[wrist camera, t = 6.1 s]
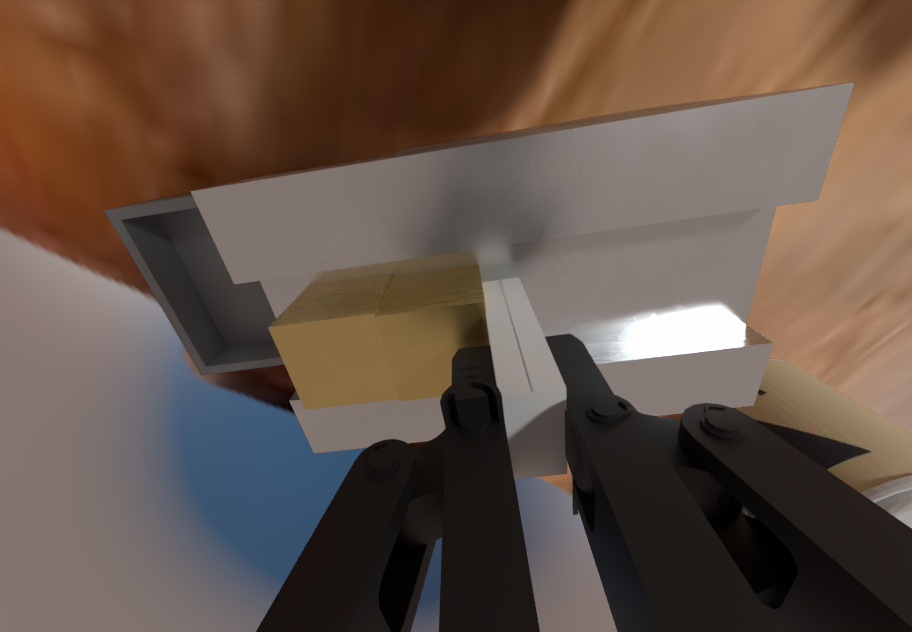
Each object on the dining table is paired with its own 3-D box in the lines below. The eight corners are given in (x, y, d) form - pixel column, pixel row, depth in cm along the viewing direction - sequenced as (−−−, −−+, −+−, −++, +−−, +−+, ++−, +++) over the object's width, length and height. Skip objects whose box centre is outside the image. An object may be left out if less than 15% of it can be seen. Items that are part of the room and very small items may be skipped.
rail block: (310, 164, 21) (190, 191, 11) (662, 106, 19) (854, 82, 10) (364, 338, 26) (314, 453, 17) (641, 302, 25) (753, 405, 15)
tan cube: (392, 276, 14) (374, 316, 11) (478, 264, 14) (485, 301, 11) (410, 348, 16) (398, 401, 13) (487, 339, 16) (495, 390, 13)
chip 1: (308, 285, 14) (267, 327, 11) (391, 274, 14) (373, 313, 11) (333, 356, 16) (304, 409, 13) (409, 346, 16) (398, 399, 13)
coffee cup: (716, 345, 26) (892, 489, 16) (837, 351, 27) (1090, 497, 16) (673, 436, 31) (789, 597, 20) (778, 441, 31) (946, 602, 20)
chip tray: (147, 200, 22) (103, 210, 19) (337, 169, 21) (319, 175, 18) (227, 350, 27) (201, 375, 24) (382, 330, 26) (374, 353, 23)
